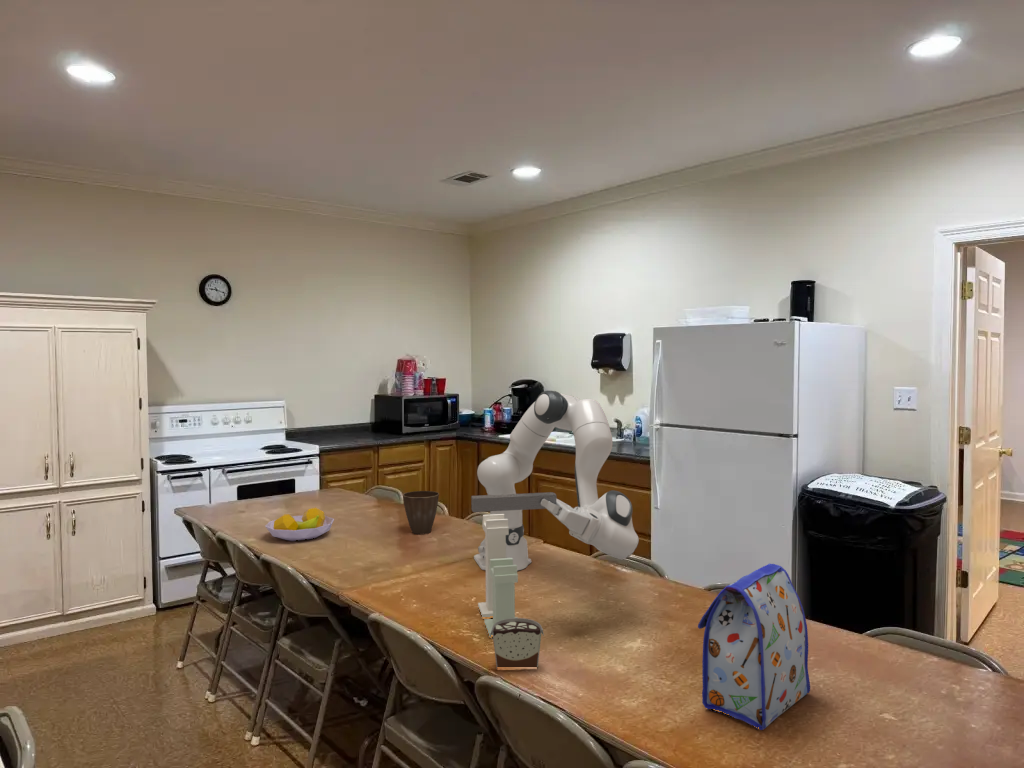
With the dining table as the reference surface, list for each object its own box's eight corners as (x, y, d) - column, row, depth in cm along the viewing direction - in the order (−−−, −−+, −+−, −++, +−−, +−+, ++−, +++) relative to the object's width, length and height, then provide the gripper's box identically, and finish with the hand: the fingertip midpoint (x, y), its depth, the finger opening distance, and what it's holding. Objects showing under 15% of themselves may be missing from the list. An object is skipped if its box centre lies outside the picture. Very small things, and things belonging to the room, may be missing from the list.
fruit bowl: (262, 533, 283) (261, 506, 282) (328, 526, 294) (328, 500, 294) (269, 550, 257) (268, 520, 257) (341, 541, 269) (341, 513, 268)
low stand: (517, 622, 184) (516, 556, 183) (524, 635, 175) (523, 566, 174) (484, 625, 182) (483, 558, 182) (489, 638, 173) (488, 568, 173)
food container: (542, 658, 162) (541, 616, 162) (544, 669, 156) (543, 626, 155) (490, 659, 162) (489, 617, 161) (490, 671, 155) (489, 627, 155)
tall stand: (508, 605, 197) (508, 512, 196) (514, 617, 188) (513, 520, 187) (478, 607, 195) (477, 514, 194) (482, 619, 186) (481, 521, 185)
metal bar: (553, 505, 182) (553, 492, 182) (556, 508, 178) (556, 494, 178) (471, 509, 178) (471, 495, 178) (473, 512, 174) (473, 498, 174)
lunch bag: (739, 669, 155) (739, 553, 154) (814, 693, 144) (815, 567, 143) (690, 707, 139) (690, 577, 138) (770, 737, 127) (771, 595, 126)
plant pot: (400, 529, 287) (400, 491, 286) (435, 526, 291) (435, 489, 291) (406, 538, 273) (405, 498, 272) (442, 535, 277) (442, 496, 276)
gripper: (577, 504, 192) (536, 481, 190) (600, 521, 172) (554, 496, 170) (567, 524, 192) (525, 501, 189) (588, 543, 172) (541, 518, 169)
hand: (539, 499), depth 179 cm, fingers closed on metal bar, 3 cm apart
